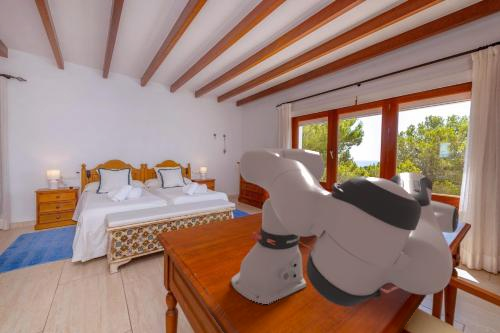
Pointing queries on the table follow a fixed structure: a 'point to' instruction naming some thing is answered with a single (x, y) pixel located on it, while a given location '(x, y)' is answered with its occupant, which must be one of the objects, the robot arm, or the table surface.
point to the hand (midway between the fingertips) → (358, 200)
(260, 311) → the table surface
